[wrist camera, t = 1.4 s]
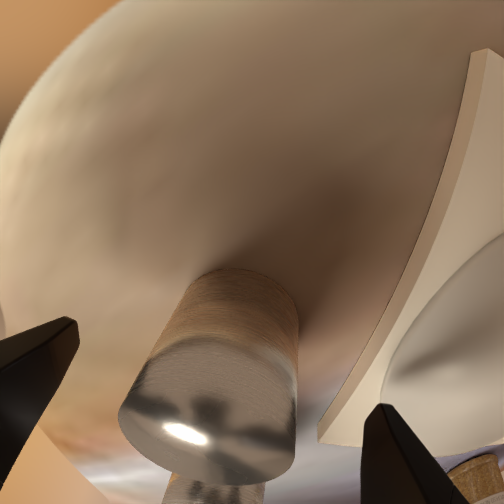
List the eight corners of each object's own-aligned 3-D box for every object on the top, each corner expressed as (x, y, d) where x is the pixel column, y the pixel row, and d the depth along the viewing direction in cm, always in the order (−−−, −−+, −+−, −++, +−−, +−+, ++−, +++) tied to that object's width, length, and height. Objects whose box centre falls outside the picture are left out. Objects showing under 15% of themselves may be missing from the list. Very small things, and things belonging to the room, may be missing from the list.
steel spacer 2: (258, 461, 14) (246, 542, 10) (184, 443, 14) (159, 522, 10) (281, 423, 13) (271, 524, 8) (192, 402, 13) (158, 499, 8)
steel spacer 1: (278, 376, 11) (266, 495, 7) (175, 348, 11) (124, 456, 7) (315, 287, 10) (324, 421, 5) (188, 253, 10) (111, 363, 5)
